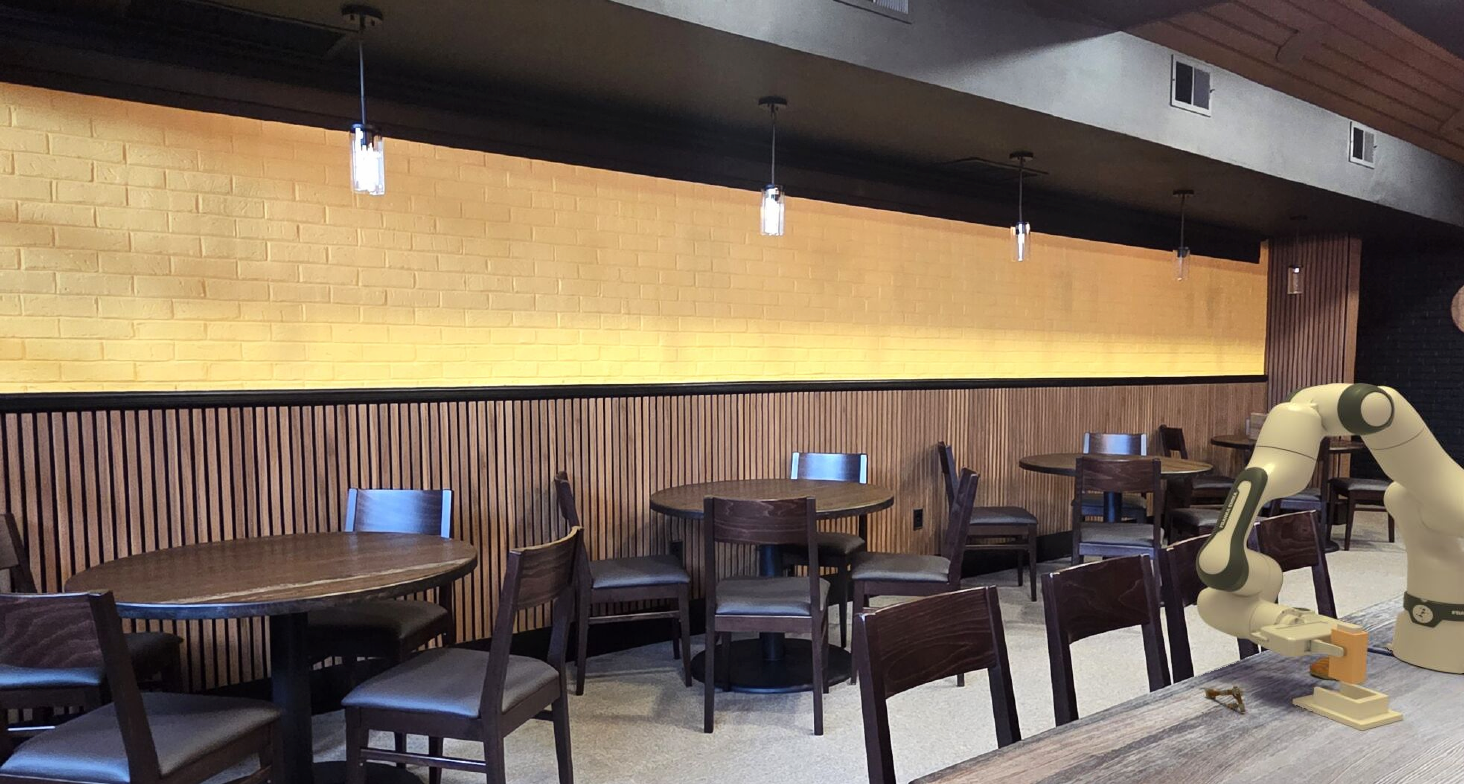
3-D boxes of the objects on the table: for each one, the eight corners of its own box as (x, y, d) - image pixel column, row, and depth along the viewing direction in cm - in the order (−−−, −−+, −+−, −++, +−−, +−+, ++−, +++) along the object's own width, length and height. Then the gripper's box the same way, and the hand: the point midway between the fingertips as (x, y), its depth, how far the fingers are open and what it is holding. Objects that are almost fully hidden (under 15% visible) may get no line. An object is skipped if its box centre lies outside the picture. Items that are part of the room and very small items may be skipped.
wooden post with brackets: (1244, 712, 155) (1236, 685, 156) (1210, 713, 162) (1204, 687, 164) (1252, 711, 155) (1244, 685, 157) (1218, 712, 163) (1211, 687, 164)
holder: (1333, 694, 166) (1334, 674, 166) (1402, 719, 155) (1403, 697, 155) (1292, 704, 161) (1293, 683, 161) (1361, 730, 150) (1362, 708, 150)
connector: (1341, 673, 160) (1345, 620, 160) (1365, 681, 157) (1368, 627, 156) (1328, 676, 159) (1331, 623, 158) (1351, 684, 155) (1354, 629, 154)
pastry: (1331, 684, 172) (1332, 665, 171) (1299, 672, 178) (1299, 654, 178) (1363, 679, 175) (1364, 660, 175) (1330, 667, 181) (1331, 649, 181)
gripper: (1244, 617, 165) (1318, 640, 152) (1312, 606, 173) (1388, 627, 160) (1242, 649, 165) (1316, 675, 152) (1310, 637, 173) (1386, 661, 161)
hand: (1353, 650), depth 156 cm, fingers closed on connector, 4 cm apart
